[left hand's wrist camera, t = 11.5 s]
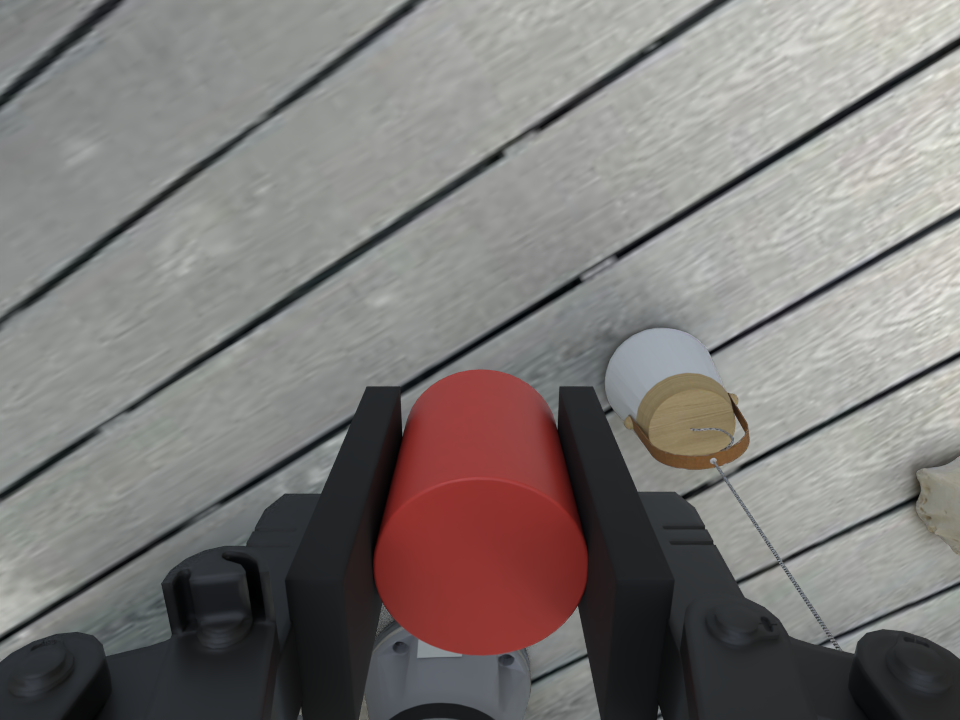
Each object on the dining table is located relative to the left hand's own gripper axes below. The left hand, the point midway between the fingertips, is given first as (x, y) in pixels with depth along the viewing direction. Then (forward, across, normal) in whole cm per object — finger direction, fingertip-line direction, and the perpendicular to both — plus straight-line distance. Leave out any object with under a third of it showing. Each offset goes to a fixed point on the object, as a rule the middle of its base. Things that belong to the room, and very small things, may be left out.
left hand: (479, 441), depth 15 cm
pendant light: (+33, -14, +11) cm, 37 cm away
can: (0, 0, 0) cm, 0 cm away
